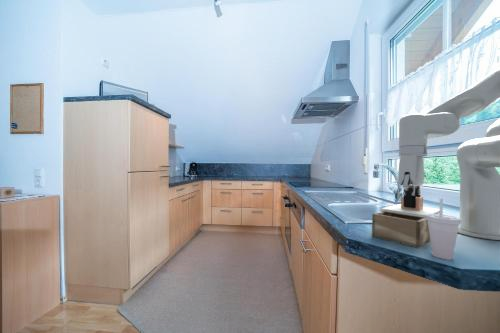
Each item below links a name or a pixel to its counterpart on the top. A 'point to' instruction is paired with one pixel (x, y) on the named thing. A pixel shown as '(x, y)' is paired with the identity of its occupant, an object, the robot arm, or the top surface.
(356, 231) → the top surface
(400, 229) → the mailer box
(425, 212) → the lid
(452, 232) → the smoothie
